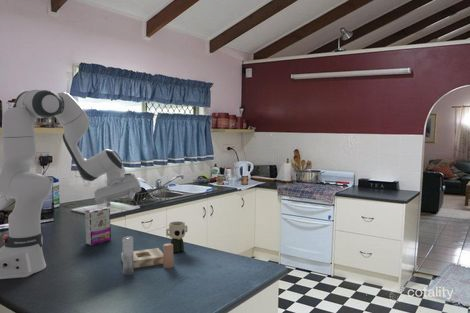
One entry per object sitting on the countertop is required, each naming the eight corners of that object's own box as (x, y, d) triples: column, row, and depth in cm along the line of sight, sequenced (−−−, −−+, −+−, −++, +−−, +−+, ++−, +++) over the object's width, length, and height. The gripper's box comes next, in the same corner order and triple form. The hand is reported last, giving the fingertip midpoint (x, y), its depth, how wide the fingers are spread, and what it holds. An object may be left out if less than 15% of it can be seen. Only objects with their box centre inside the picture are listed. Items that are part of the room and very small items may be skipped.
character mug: (170, 255, 171) (170, 226, 170) (162, 251, 176) (162, 223, 175) (191, 250, 177) (191, 222, 176) (183, 246, 183) (183, 219, 182)
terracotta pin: (164, 269, 155) (164, 247, 154) (162, 265, 159) (162, 244, 158) (174, 267, 157) (174, 245, 156) (171, 264, 160) (171, 243, 160)
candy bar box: (105, 238, 195) (104, 206, 194) (111, 240, 192) (110, 207, 191) (85, 243, 187) (84, 210, 185) (91, 245, 184) (90, 211, 182)
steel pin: (124, 275, 148) (123, 239, 147) (122, 271, 152) (121, 237, 151) (134, 273, 150) (134, 238, 149) (132, 270, 153) (132, 235, 152)
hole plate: (126, 269, 154) (126, 262, 154) (121, 259, 165) (121, 252, 165) (165, 263, 161) (165, 256, 161) (158, 254, 172) (158, 247, 172)
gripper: (92, 185, 175) (92, 203, 164) (136, 171, 179) (140, 188, 167) (96, 195, 178) (97, 214, 167) (140, 182, 182) (144, 199, 171)
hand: (119, 201), depth 167 cm, fingers open, 8 cm apart
